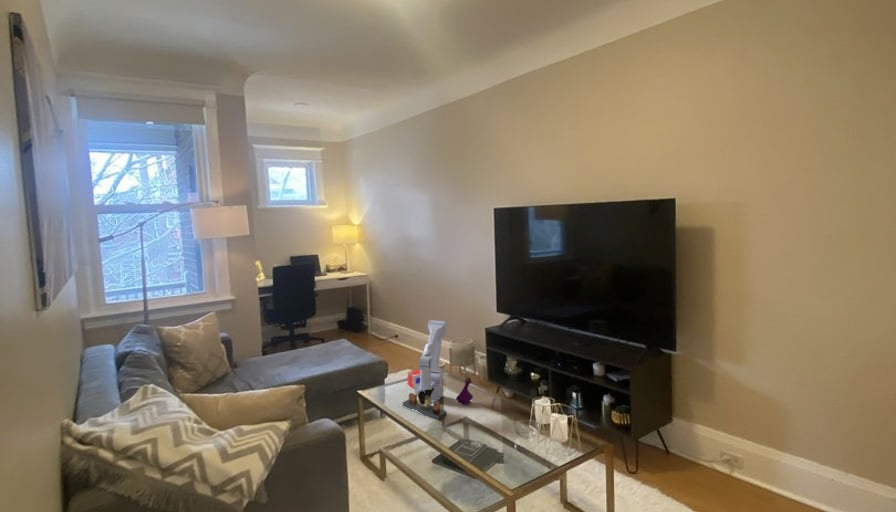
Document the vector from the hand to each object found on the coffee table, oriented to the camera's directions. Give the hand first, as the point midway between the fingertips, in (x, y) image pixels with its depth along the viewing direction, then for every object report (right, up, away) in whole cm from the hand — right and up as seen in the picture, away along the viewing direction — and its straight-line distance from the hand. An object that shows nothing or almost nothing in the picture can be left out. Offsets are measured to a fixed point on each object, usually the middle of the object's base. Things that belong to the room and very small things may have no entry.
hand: (424, 402), depth 249 cm
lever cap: (0, -1, 0) cm, 1 cm away
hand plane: (0, -5, +1) cm, 5 cm away
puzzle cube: (-7, 0, +33) cm, 34 cm away
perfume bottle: (+21, -4, +12) cm, 25 cm away
